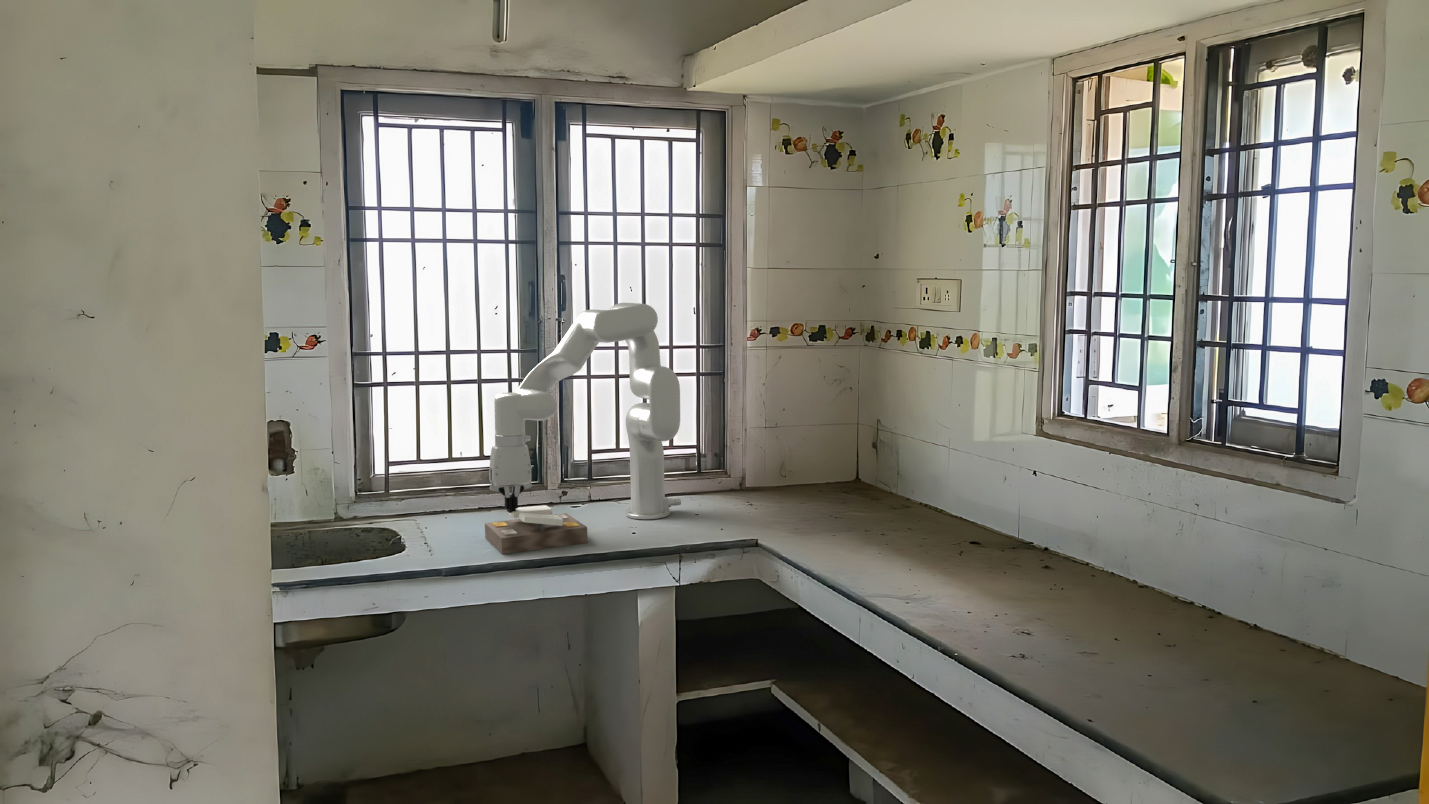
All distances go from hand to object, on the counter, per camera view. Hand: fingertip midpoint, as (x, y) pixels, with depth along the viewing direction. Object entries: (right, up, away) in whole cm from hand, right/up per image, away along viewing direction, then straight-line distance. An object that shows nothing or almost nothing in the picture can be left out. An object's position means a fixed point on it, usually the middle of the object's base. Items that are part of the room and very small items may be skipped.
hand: (511, 511), depth 267 cm
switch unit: (+7, -7, -1) cm, 10 cm away
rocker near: (+8, -2, -6) cm, 10 cm away
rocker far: (+4, -1, +2) cm, 5 cm away
